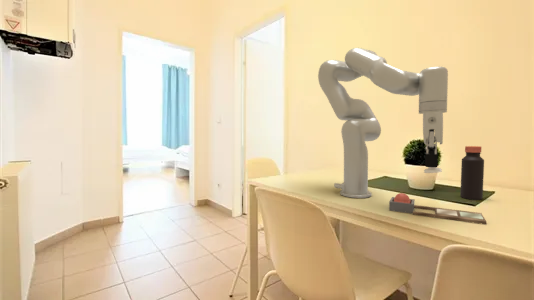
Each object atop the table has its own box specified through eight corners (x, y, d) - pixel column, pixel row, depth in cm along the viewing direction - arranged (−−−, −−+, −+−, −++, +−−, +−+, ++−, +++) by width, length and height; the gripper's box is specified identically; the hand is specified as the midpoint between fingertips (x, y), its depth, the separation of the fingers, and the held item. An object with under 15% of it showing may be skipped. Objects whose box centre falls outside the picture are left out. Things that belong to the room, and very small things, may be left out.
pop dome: (392, 207, 87) (393, 193, 87) (394, 204, 92) (394, 190, 91) (409, 209, 85) (410, 195, 84) (410, 206, 89) (411, 192, 89)
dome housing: (389, 210, 87) (389, 201, 87) (391, 205, 93) (392, 196, 93) (413, 213, 84) (413, 204, 83) (414, 208, 89) (414, 199, 89)
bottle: (457, 195, 106) (459, 145, 104) (478, 196, 103) (480, 146, 102) (463, 199, 99) (465, 147, 98) (485, 200, 97) (487, 147, 95)
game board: (412, 214, 83) (412, 211, 83) (414, 207, 90) (414, 204, 90) (486, 224, 73) (486, 221, 73) (481, 215, 81) (481, 212, 81)
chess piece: (445, 171, 80) (440, 139, 80) (428, 173, 81) (423, 141, 81) (437, 170, 85) (432, 139, 85) (421, 172, 86) (416, 142, 86)
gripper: (448, 105, 73) (446, 170, 74) (446, 109, 86) (444, 164, 88) (417, 107, 77) (416, 169, 78) (420, 110, 90) (419, 163, 92)
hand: (431, 166), depth 83 cm, fingers closed on chess piece
